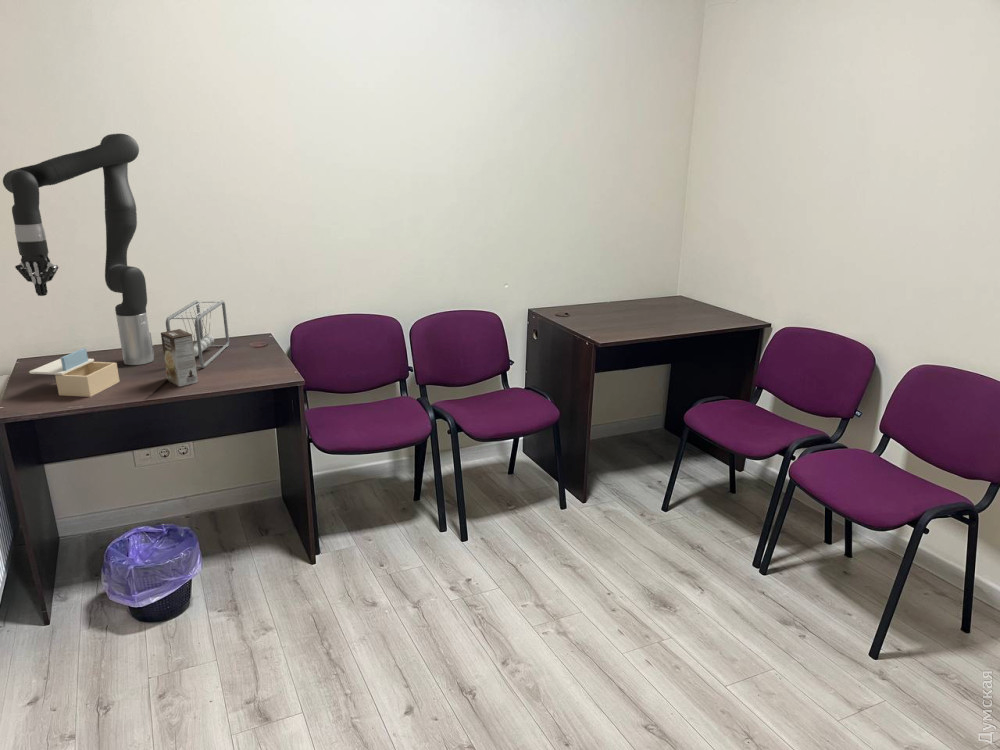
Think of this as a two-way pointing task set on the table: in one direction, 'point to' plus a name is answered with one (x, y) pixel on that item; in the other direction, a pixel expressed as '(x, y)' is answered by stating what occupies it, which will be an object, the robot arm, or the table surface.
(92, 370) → the storage box
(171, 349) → the coffee box
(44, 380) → the table surface
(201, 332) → the newton's cradle
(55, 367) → the lid
